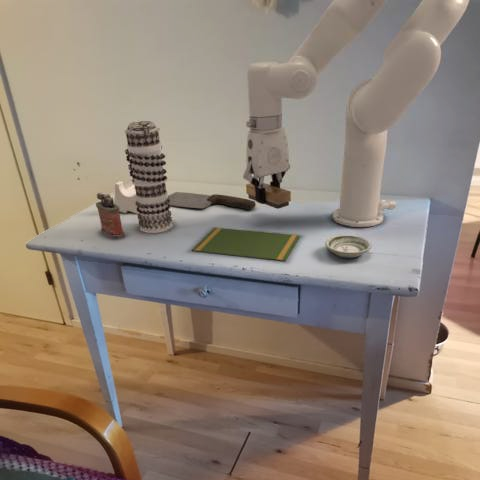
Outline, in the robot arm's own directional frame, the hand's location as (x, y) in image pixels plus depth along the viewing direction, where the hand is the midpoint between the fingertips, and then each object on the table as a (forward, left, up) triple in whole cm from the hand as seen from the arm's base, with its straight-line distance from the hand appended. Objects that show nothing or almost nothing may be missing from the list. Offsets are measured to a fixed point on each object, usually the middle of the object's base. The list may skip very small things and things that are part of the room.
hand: (268, 199), depth 114 cm
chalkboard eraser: (0, 0, 0) cm, 0 cm away
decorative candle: (+29, -6, -6) cm, 30 cm away
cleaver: (+13, -18, -6) cm, 23 cm away
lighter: (+40, -5, -6) cm, 40 cm away
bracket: (+32, -25, -6) cm, 41 cm away
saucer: (-9, +26, -6) cm, 28 cm away
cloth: (+10, +13, -5) cm, 17 cm away
